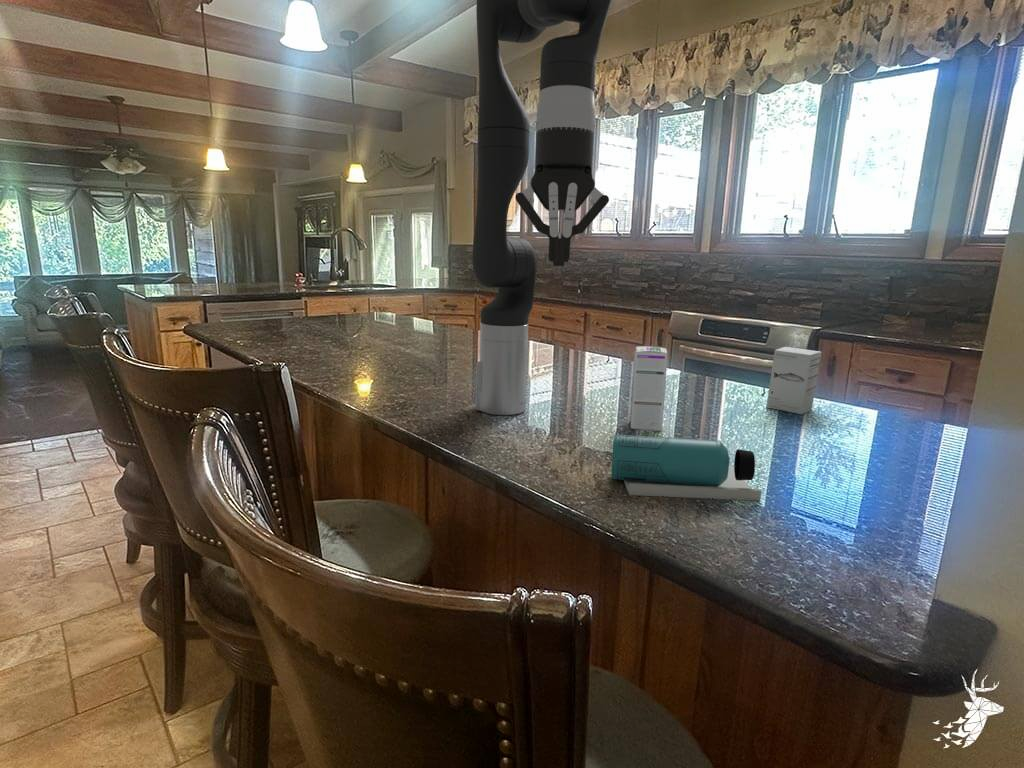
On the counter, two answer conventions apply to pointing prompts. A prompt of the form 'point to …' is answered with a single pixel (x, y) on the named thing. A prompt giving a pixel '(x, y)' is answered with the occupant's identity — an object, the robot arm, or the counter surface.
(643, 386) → the syrup box
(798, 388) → the supplement box
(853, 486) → the counter surface
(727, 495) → the panel with raised edges
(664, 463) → the beverage bottle
